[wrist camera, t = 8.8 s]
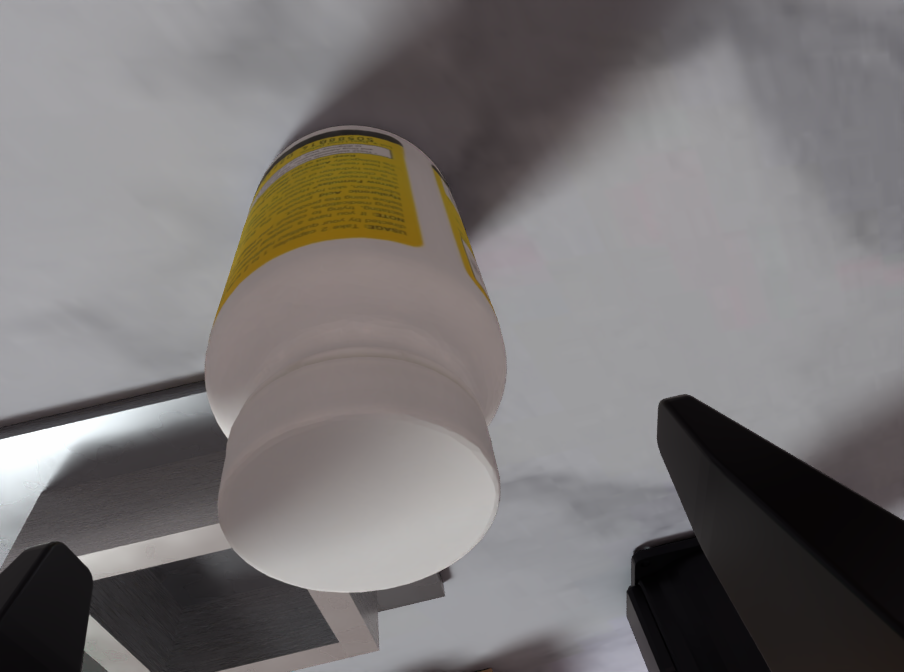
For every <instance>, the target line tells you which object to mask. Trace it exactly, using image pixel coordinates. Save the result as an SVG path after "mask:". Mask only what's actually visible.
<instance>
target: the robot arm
mask: <svg viewBox="0 0 904 672" xmlns="http://www.w3.org/2000/svg"><path fill="white" fill-rule="evenodd" d="M657 443H658V447H659V450H660V453H661V456H662V458H663V460H664V463H665V465H666V467H667V470H668V472H669V474H670V477H671V479H672V481H673V484H674V486H675V488H676V491H677V493H678V496H679V498H680V500H681V503H682V505H683V507H684V510H685V512H686V514H687V517H688V519H689V521H690V524H691V526H692V528H693V531H694V533H695V535H696V538H692V539H688V540H683V541H679V542H675V543H671V544H667V545H662V546H658V547H654V548H650V549H646V550H642V551H639V552H637V553H635V554H634V555H633V556H632V559H631V586H629V588H628V590H627V619H628V621H629V624H630V626H631V629H632V631H633V634H634V636H635V639H636V641H637V644H638V646H639V649H640V651H641V654H642V656H643V659H644V661H645V664H646V666H647V669H648V671H649V672H904V520H902V519H900V518H899V517H897V516H895V515H894V514H892V513H890V512H888V511H887V510H885V509H883V508H882V507H880V506H878V505H877V504H875V503H873V502H871V501H870V500H868V499H866V498H865V497H863V496H861V495H859V494H858V493H856V492H854V491H853V490H851V489H849V488H848V487H846V486H844V485H842V484H841V483H839V482H837V481H836V480H834V479H832V478H831V477H829V476H827V475H825V474H824V473H822V472H820V471H819V470H817V469H815V468H813V467H812V466H810V465H808V464H807V463H805V462H803V461H802V460H800V459H798V458H796V457H795V456H793V455H791V454H790V453H788V452H786V451H785V450H783V449H781V448H779V447H778V446H776V445H774V444H773V443H771V442H769V441H767V440H766V439H764V438H762V437H761V436H759V435H757V434H756V433H754V432H752V431H750V430H749V429H747V428H745V427H744V426H742V425H740V424H739V423H737V422H735V421H733V420H732V419H730V418H728V417H727V416H725V415H723V414H721V413H720V412H718V411H716V410H715V409H713V408H711V407H710V406H708V405H706V404H704V403H703V402H701V401H699V400H698V399H696V398H694V397H692V396H690V395H687V394H683V395H678V396H674V397H670V398H665V399H663V400H661V401H660V403H659V406H658V423H657ZM92 592H93V577H92V574H91V572H90V570H89V569H88V567H87V566H86V565H85V564H84V563H83V562H82V561H81V560H80V559H79V558H78V557H77V556H76V555H75V554H74V553H73V552H72V551H71V550H70V549H69V548H68V547H67V546H66V545H65V544H64V543H62V542H59V541H52V542H48V543H43V544H39V545H35V546H32V547H29V548H27V549H26V550H24V551H23V552H22V553H21V554H20V555H19V556H18V557H17V558H16V559H15V560H14V561H13V562H12V563H11V564H10V565H9V566H8V567H7V568H5V569H4V570H3V571H2V572H1V573H0V672H81V669H82V662H83V655H84V648H85V641H86V634H87V627H88V620H89V613H90V606H91V599H92Z"/></svg>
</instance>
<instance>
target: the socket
mask: <svg viewBox="0 0 904 672" xmlns="http://www.w3.org/2000/svg"><path fill="white" fill-rule="evenodd" d="M227 441H228V438H227V437H226V435H225V434H224V433H223V431H222V429H221V428H220V426H219V425H218V423H217V421H216V418H215V416H214V414H213V412H212V410H211V407H210V404H209V400H208V397H207V391H206V385H205V381H201V382H197V383H192V384H188V385H184V386H179V387H175V388H171V389H166V390H162V391H158V392H154V393H149V394H145V395H141V396H136V397H132V398H128V399H123V400H119V401H115V402H110V403H106V404H102V405H98V406H93V407H89V408H85V409H80V410H76V411H72V412H67V413H63V414H59V415H54V416H50V417H46V418H42V419H37V420H33V421H29V422H24V423H20V424H16V425H11V426H7V427H3V428H0V542H1V543H2V544H3V545H4V546H5V547H6V548H7V549H8V550H9V551H10V552H9V553H8V555H7V557H6V559H5V561H4V563H3V565H2V566H1V568H0V573H1V572H2V571H3V570H4V569H5V568H7V567H8V566H9V565H10V564H11V563H12V562H13V561H14V560H15V559H16V558H17V557H18V556H19V555H20V554H21V553H22V552H23V551H24V550H26V549H27V548H29V547H32V546H35V545H39V544H43V543H48V542H52V541H59V542H62V543H64V544H65V545H66V546H67V547H68V548H69V549H70V550H71V551H72V552H73V553H74V554H75V555H76V556H77V557H78V558H79V559H80V560H81V561H82V562H83V563H84V564H85V565H86V566H87V567H88V569H89V570H90V572H91V574H92V577H93V592H92V599H91V606H90V613H89V620H88V627H87V634H86V641H85V648H84V651H85V652H86V653H87V654H88V655H90V656H91V657H92V658H93V659H94V660H95V661H96V662H98V663H99V664H100V665H101V666H102V667H103V668H105V669H106V670H107V671H108V672H290V671H294V670H298V669H303V668H307V667H311V666H315V665H320V664H324V663H328V662H332V661H336V660H341V659H345V658H349V657H353V656H357V655H362V654H366V653H370V652H374V651H378V650H379V630H378V612H380V611H385V610H389V609H393V608H397V607H402V606H406V605H410V604H414V603H418V602H423V601H427V600H431V599H435V598H439V597H444V596H445V592H444V585H443V582H442V579H441V576H440V573H439V572H437V573H435V574H433V575H430V576H428V577H426V578H423V579H421V580H418V581H415V582H412V583H410V584H406V585H402V586H397V587H393V588H389V589H384V590H375V591H367V592H350V593H341V592H325V591H317V590H311V589H305V588H301V587H298V586H294V585H291V584H288V583H285V582H282V581H280V580H277V579H274V578H272V577H269V576H267V575H266V574H264V573H262V572H260V571H258V570H257V569H255V568H254V567H252V566H251V565H249V564H248V563H247V562H245V561H244V560H243V559H242V558H241V557H240V556H239V555H238V554H237V553H236V552H235V551H234V550H233V548H232V547H231V546H230V544H229V542H228V541H227V539H226V537H225V536H224V533H223V531H222V529H221V527H220V523H219V518H218V505H217V503H218V494H219V488H220V483H221V477H222V472H223V467H224V462H225V457H226V446H227Z"/></svg>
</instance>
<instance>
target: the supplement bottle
mask: <svg viewBox="0 0 904 672" xmlns="http://www.w3.org/2000/svg"><path fill="white" fill-rule="evenodd" d="M506 372H507V364H506V352H505V346H504V341H503V337H502V334H501V330H500V326H499V323H498V319H497V317H496V314H495V312H494V309H493V307H492V304H491V301H490V299H489V296H488V293H487V290H486V287H485V285H484V282H483V279H482V276H481V273H480V271H479V268H478V265H477V263H476V260H475V257H474V254H473V251H472V248H471V245H470V243H469V239H468V237H467V234H466V231H465V228H464V226H463V223H462V220H461V217H460V214H459V211H458V209H457V206H456V203H455V201H454V199H453V196H452V193H451V191H450V189H449V186H448V184H447V183H446V181H445V179H444V177H443V175H442V174H441V172H440V171H439V169H438V168H437V167H436V165H435V164H434V163H433V162H432V161H431V160H430V158H429V157H428V156H427V155H426V154H425V153H423V152H422V151H421V150H420V149H419V148H417V147H416V146H415V145H413V144H412V143H410V142H409V141H407V140H405V139H403V138H401V137H400V136H397V135H395V134H393V133H390V132H388V131H384V130H381V129H377V128H372V127H367V126H355V125H347V126H336V127H330V128H326V129H322V130H319V131H316V132H313V133H311V134H309V135H306V136H304V137H302V138H301V139H299V140H297V141H295V142H294V143H293V144H291V145H290V146H288V147H287V148H286V149H285V150H284V151H283V152H282V153H281V154H280V155H279V156H277V158H276V159H275V160H274V161H273V162H272V164H271V165H270V166H269V168H268V169H267V171H266V172H265V174H264V176H263V178H262V180H261V182H260V184H259V186H258V189H257V191H256V193H255V196H254V199H253V202H252V204H251V206H250V210H249V213H248V216H247V220H246V223H245V225H244V228H243V231H242V235H241V238H240V242H239V245H238V248H237V251H236V254H235V257H234V261H233V264H232V267H231V270H230V273H229V276H228V280H227V283H226V286H225V289H224V292H223V295H222V298H221V301H220V304H219V307H218V311H217V314H216V317H215V320H214V323H213V327H212V330H211V333H210V337H209V342H208V347H207V351H206V359H205V385H206V391H207V397H208V400H209V404H210V407H211V410H212V412H213V414H214V416H215V418H216V421H217V423H218V425H219V426H220V428H221V429H222V431H223V433H224V434H225V435H226V437H227V438H228V441H227V446H226V457H225V462H224V467H223V472H222V477H221V483H220V488H219V494H218V503H217V505H218V518H219V523H220V527H221V529H222V531H223V533H224V536H225V537H226V539H227V541H228V542H229V544H230V546H231V547H232V548H233V550H234V551H235V552H236V553H237V554H238V555H239V556H240V557H241V558H242V559H243V560H244V561H245V562H247V563H248V564H249V565H251V566H252V567H254V568H255V569H257V570H258V571H260V572H262V573H264V574H266V575H267V576H269V577H272V578H274V579H277V580H280V581H282V582H285V583H288V584H291V585H294V586H298V587H301V588H305V589H311V590H317V591H325V592H341V593H350V592H367V591H375V590H384V589H389V588H393V587H397V586H402V585H406V584H410V583H412V582H415V581H418V580H421V579H423V578H426V577H428V576H430V575H433V574H435V573H437V572H439V571H441V570H443V569H445V568H447V567H448V566H450V565H451V564H453V563H454V562H456V561H458V560H459V559H461V558H462V557H463V556H464V555H465V554H467V553H468V552H469V551H470V550H471V549H472V548H473V547H474V546H475V545H476V544H477V543H478V542H479V541H480V540H481V539H482V538H483V536H484V535H485V534H486V532H487V531H488V529H489V528H490V526H491V524H492V522H493V520H494V518H495V516H496V513H497V509H498V505H499V501H500V476H499V472H498V468H497V464H496V460H495V456H494V452H493V447H492V443H491V438H490V435H489V431H488V428H487V427H488V426H489V424H490V423H491V421H492V419H493V418H494V416H495V414H496V412H497V409H498V407H499V404H500V402H501V399H502V396H503V392H504V387H505V383H506Z"/></svg>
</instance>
